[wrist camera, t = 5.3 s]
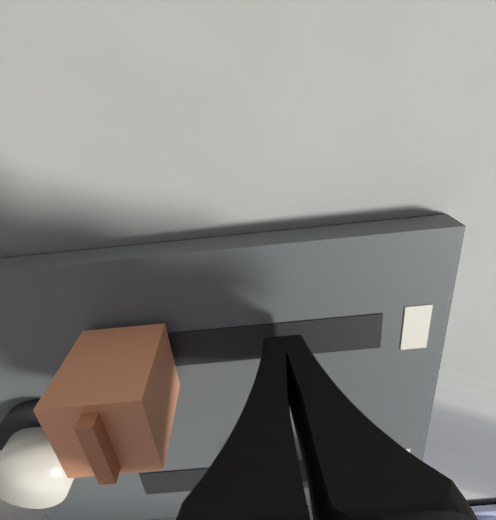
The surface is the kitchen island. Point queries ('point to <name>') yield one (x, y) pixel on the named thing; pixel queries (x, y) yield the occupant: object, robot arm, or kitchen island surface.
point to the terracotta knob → (112, 403)
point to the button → (31, 471)
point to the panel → (237, 333)
